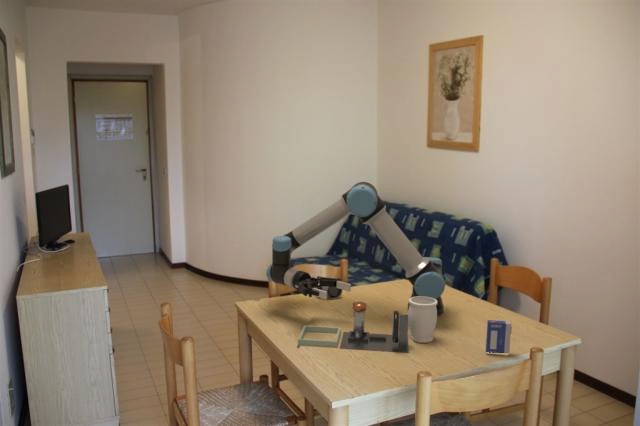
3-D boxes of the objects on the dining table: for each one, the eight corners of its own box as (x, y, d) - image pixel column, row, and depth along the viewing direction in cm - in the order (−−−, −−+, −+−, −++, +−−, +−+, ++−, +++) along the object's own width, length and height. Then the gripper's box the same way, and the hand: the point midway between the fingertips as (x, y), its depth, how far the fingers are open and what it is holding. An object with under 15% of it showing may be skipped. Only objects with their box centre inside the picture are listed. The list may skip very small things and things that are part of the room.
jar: (418, 346, 208) (420, 306, 205) (401, 336, 217) (403, 298, 214) (441, 341, 213) (443, 302, 210) (424, 332, 222) (426, 294, 219)
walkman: (486, 354, 202) (488, 321, 200) (485, 351, 204) (487, 318, 202) (510, 356, 200) (512, 323, 198) (508, 353, 203) (511, 320, 201)
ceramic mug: (335, 293, 268) (335, 277, 267) (342, 298, 261) (342, 282, 260) (314, 295, 265) (314, 279, 263) (320, 301, 257) (320, 284, 256)
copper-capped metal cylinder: (365, 335, 215) (366, 302, 213) (364, 340, 210) (365, 306, 208) (352, 334, 215) (353, 301, 213) (351, 339, 211) (352, 305, 208)
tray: (340, 335, 218) (340, 327, 217) (336, 349, 204) (337, 341, 203) (303, 332, 219) (303, 325, 219) (297, 347, 206) (297, 339, 205)
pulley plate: (407, 338, 215) (409, 303, 213) (408, 355, 200) (410, 318, 198) (343, 334, 219) (344, 299, 216) (339, 351, 203) (340, 314, 201)
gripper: (319, 282, 240) (359, 294, 226) (275, 295, 222) (315, 309, 208) (319, 265, 239) (359, 275, 225) (275, 276, 221) (316, 288, 207)
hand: (338, 291), depth 217 cm, fingers open, 13 cm apart
